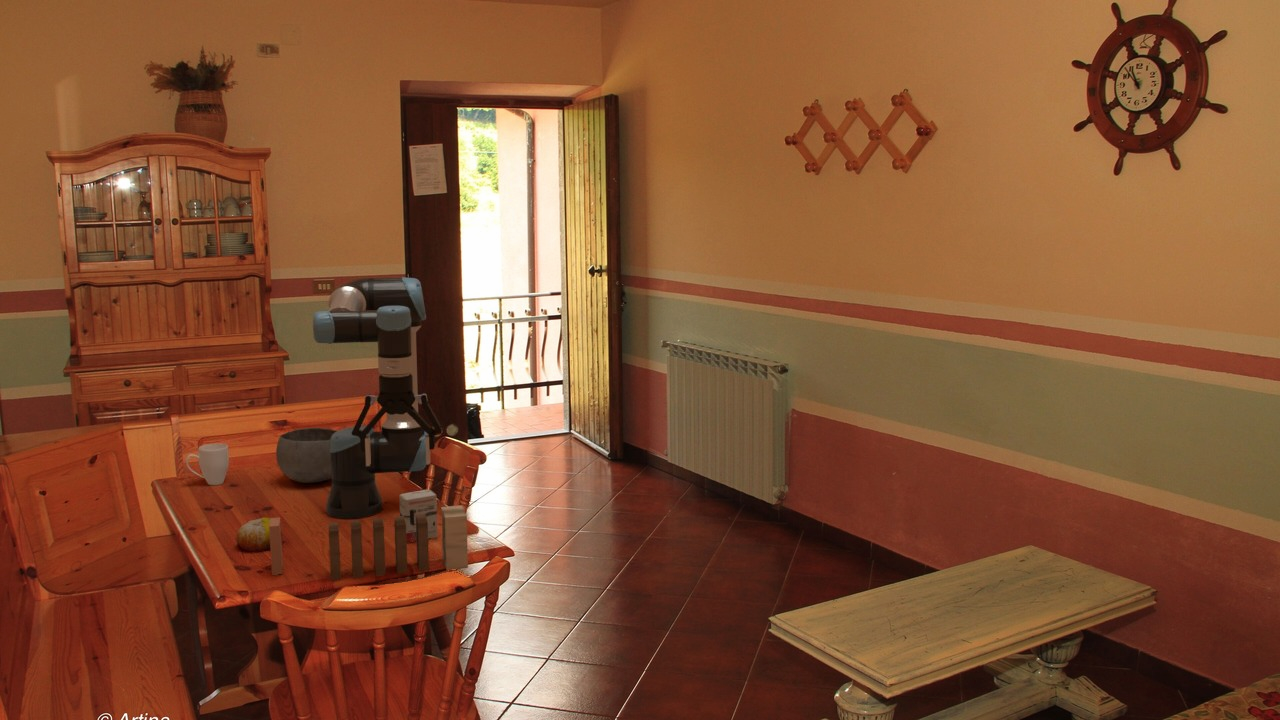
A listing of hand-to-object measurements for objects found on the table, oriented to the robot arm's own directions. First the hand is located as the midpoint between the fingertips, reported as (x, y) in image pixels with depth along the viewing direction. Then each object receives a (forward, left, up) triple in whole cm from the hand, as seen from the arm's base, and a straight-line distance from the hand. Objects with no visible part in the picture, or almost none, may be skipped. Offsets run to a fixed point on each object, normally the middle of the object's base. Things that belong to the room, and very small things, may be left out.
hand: (398, 463), depth 230 cm
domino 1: (-8, -28, -26) cm, 39 cm away
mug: (-85, -50, -26) cm, 102 cm away
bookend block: (-1, +12, -26) cm, 29 cm away
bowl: (-80, -20, -26) cm, 86 cm away
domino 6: (-1, +5, -26) cm, 26 cm away
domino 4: (-1, -5, -26) cm, 26 cm away
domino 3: (-1, -10, -26) cm, 28 cm away
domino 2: (-1, -15, -26) cm, 30 cm away
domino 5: (-1, 0, -26) cm, 26 cm away
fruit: (-27, -33, -26) cm, 50 cm away
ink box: (-21, +6, -26) cm, 34 cm away
